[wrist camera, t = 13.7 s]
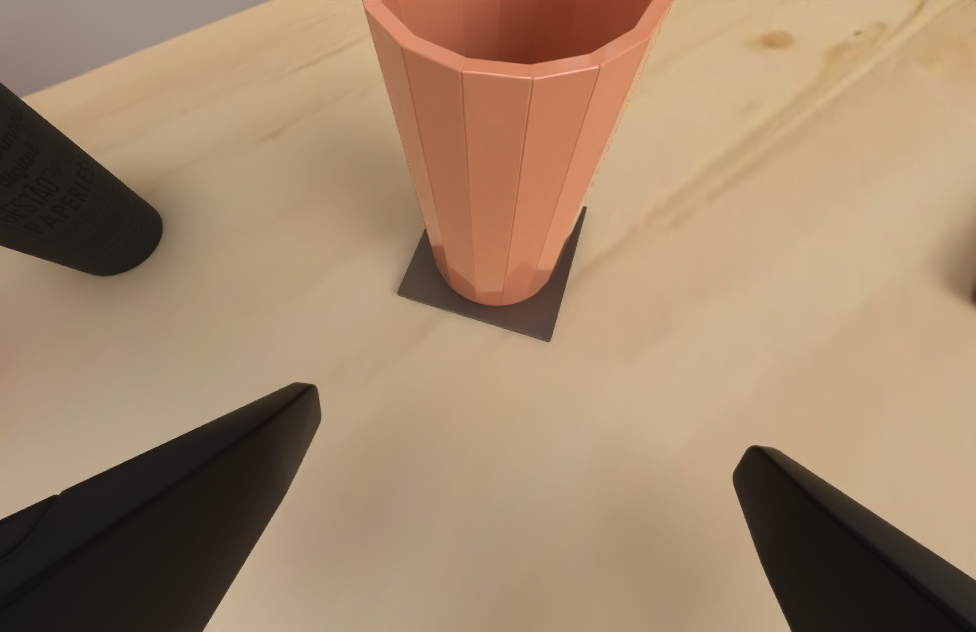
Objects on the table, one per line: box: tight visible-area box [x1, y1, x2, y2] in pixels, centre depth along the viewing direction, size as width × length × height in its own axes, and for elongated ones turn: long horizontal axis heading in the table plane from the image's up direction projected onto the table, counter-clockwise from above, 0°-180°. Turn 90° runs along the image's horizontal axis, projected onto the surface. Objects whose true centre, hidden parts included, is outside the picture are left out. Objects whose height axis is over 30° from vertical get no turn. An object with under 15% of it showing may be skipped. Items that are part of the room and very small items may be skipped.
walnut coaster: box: [398, 206, 587, 342], centre depth 20 cm, size 8×8×1 cm
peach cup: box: [362, 0, 674, 306], centre depth 14 cm, size 7×7×12 cm
